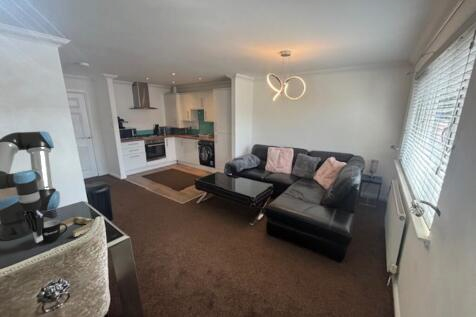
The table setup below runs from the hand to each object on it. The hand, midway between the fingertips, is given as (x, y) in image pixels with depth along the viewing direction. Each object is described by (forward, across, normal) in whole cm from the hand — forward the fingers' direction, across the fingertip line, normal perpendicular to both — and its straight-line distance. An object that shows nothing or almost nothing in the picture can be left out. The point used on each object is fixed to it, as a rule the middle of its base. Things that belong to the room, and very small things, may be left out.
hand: (39, 241), depth 106 cm
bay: (+3, 0, +18) cm, 18 cm away
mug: (+4, 0, +7) cm, 8 cm away
